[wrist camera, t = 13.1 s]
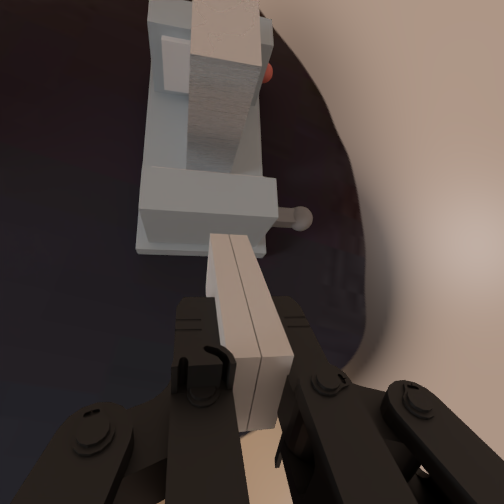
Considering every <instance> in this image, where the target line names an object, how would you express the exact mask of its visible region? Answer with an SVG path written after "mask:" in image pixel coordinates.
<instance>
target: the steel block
mask: <svg viewBox="0 0 504 504" xmlns="http://www.w3.org/2000/svg"><path fill="white" fill-rule="evenodd" d="M261 68H262V58H261V37H260V16H259V0H192V24H191V48H190V75H189V103H188V130H187V157H186V170H196V171H207V172H218V173H228V174H230V173H231V170H232V166H233V163H234V159H235V156H236V153H237V149H238V146H239V142H240V139H241V136H242V132H243V129H244V126H245V122H246V119H247V115H248V112H249V109H250V105H251V102H252V98H253V95H254V92H255V88H256V85H257V82H258V78H259V75H260V71H261Z"/></svg>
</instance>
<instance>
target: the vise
mask: <svg viewBox="0 0 504 504" xmlns="http://www.w3.org/2000/svg"><path fill="white" fill-rule="evenodd" d="M147 23H148V33H149V43H150V53H151V71H150V83H149V95H148V107H147V119H146V131H145V143H144V155H143V166H149V167H152V166H154V167H165V168H175V169H186V157H187V130H188V103H189V75H190V48H191V24H192V2H189V1H185V0H149V8H148V19H147ZM260 37H261V58H262V68H261V71H260V75H259V78H258V82H257V85H256V88H255V92H254V95H253V98H252V102H251V105H250V109H249V112H248V115H247V119H246V122H245V126H244V129H243V132H242V136H241V139H240V142H239V146H238V149H237V153H236V156H235V159H234V163H233V166H232V170H231V173H230V174H239V175H250V176H260V177H263V174H262V153H261V131H260V110H259V91H260V88H261V85H262V83H266V82H268V81H269V80H270V79H271V77H272V74H273V70H272V67H271V65H270V64H269V63H268V62H269V59H270V56H271V53H272V49H273V46H274V44H273V29H272V19H268V18H263V17H260ZM252 249H253V252H254V254H255V257H256V258H262V257H263V256H264V255H265V254H266V238H265V236H264V237H263V238H262V239H261V241H260V242H259V243H258V245H257V246H256V247H253V246H252ZM136 251H137V253H138V254H153V255H185V256H208V252H209V245H203V244H178V243H153V242H148V238H147V235H146V232H145V229H144V225H143V222H142V219H141V215H140V212H139V215H138V227H137V239H136Z"/></svg>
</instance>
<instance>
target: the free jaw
mask: <svg viewBox="0 0 504 504" xmlns="http://www.w3.org/2000/svg"><path fill="white" fill-rule="evenodd" d="M139 212H140V215H141V219H142V222H143V225H144V229H145V232H146V235H147V238H148V242H153V243H178V244H203V245H209V239H210V233H213V234H228V235H229V234H233V235H247V236H248V239H249V241H250V244H251V246H253V247H256V246H257V245H258V243H259V242H260V241H261V239H262V238H263V237H264V236H265V234H266V233H267V232H268V230H269V229H270V228H271V227H285V228H293V229H294V230H297V231H303V230H306V229H307V228H309V227H310V225H311V223H312V220H313V217H312V214H311V212H310V210H309V209H307V208H306V207H302V206H299V207H295V208H282V207H278V201H277V185H276V178H266V177H260V176H250V175H239V174H228V173H218V172H207V171H196V170H186V169H175V168H165V167H154V166H152V167H149V166H142V173H141V185H140V197H139Z"/></svg>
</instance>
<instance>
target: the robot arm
mask: <svg viewBox="0 0 504 504" xmlns="http://www.w3.org/2000/svg"><path fill="white" fill-rule="evenodd" d="M277 417H278V418H279V422H280V425H281V429H282V435H281V439H280V442H279V446H278V449H277V452H276V456H275V468H279V466H280V463H281V460H283V464H284V468H285V472H286V476H287V481H288V485H289V489H290V493H291V497H292V501H293V504H504V461H503V460H502V459H501V458H500V457H499V456H498V455H497V454H496V453H495V452H494V451H493V450H492V449H491V448H490V447H489V446H488V445H487V444H485V442H483V440H481V439H480V438H479V437H478V436H477V435H476V434H475V433H474V432H473V431H472V430H471V429H470V428H469V427H468V426H467V425H466V424H465V423H464V422H463V421H462V420H461V419H459V418H458V417H457V416H456V415H455V414H454V413H453V412H452V411H451V410H450V409H449V408H448V407H447V406H446V405H445V404H444V403H443V402H442V401H441V400H440V399H439V398H438V397H436V396H435V395H434V394H433V393H431V392H430V391H429V390H428V389H426V388H425V387H422V386H421V385H419V384H417V383H415V382H410V381H406V380H400V381H395V382H393V383H392V384H391V385H389V387H388V390H387V391H386V392H384V391H379V390H375V389H371V388H366V387H362V386H359V385H356V384H353V383H352V382H351V380H350V379H349V378H348V376H347V375H346V374H345V373H344V372H343V371H341V370H340V369H339V368H337V367H336V366H333V365H331V364H329V362H328V361H327V359H326V357H325V355H324V353H323V351H322V349H321V347H320V345H319V343H318V341H317V339H316V337H315V335H314V333H313V331H312V329H311V328H310V325H309V323H308V321H307V319H305V315H304V313H303V311H302V309H301V307H300V305H299V304H297V303H296V302H295V301H294V300H293V299H292V298H291V297H290V296H271V295H270V292H269V290H268V287H267V285H266V282H265V280H264V277H263V275H262V272H261V269H260V267H259V264H258V262H257V259H256V257H255V254H254V252H253V249H252V246H251V244H250V241H249V239H248V236H247V235H233V234H229V235H228V234H213V233H210V239H209V252H208V265H207V278H206V297H184V298H183V299H182V300H181V302H180V303H179V305H178V306H177V308H176V326H175V343H174V360H173V363H172V366H171V380H170V382H169V384H168V386H167V387H166V388H165V389H164V390H163V392H162V393H160V394H159V395H158V396H156V397H155V398H154V399H152V400H150V401H148V402H146V403H143V404H141V405H138V406H135V407H132V408H130V409H127V410H126V409H125V408H124V407H123V406H121V405H118V404H115V403H112V402H102V403H95V404H92V405H89V406H86V407H83V408H81V409H80V410H78V411H77V412H75V413H74V414H72V415H71V416H69V417H68V418H67V420H66V421H65V422H64V423H63V424H62V425H61V426H60V428H59V429H58V430H57V431H56V433H55V435H54V436H53V438H52V439H51V441H50V442H49V444H48V445H47V447H46V449H45V450H44V452H43V453H42V455H41V456H40V458H39V459H38V461H37V463H36V464H35V466H34V467H33V469H32V470H31V472H30V473H29V475H28V477H27V478H26V480H25V481H24V483H23V484H22V486H21V487H20V489H19V491H18V492H17V494H16V495H15V497H14V498H13V500H12V502H11V503H10V504H157V503H159V502H161V501H162V500H164V499H165V504H250V503H249V496H248V490H247V483H246V476H245V470H244V463H243V456H242V449H241V443H240V436H239V432H242V431H246V428H247V431H252V430H262V429H272V428H274V427H275V424H276V420H277ZM421 465H422V466H423V467H424V469H425V470H426V471H427V472H428V473H429V474H427V473H425V472H424V471H422V470H421V469H420V468H419V467H420V466H421Z"/></svg>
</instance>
